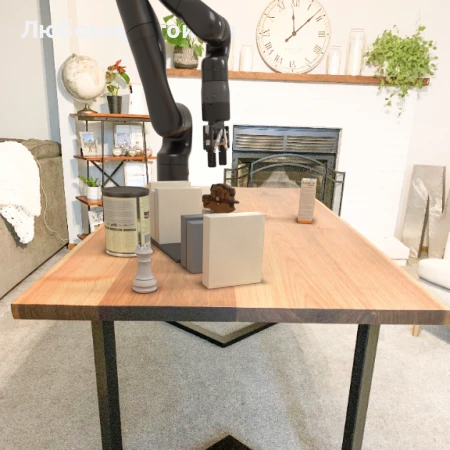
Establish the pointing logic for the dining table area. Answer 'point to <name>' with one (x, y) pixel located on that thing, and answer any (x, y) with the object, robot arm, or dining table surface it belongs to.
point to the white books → (171, 213)
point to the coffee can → (126, 219)
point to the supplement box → (307, 200)
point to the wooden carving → (220, 198)
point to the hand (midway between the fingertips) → (217, 166)
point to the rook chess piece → (144, 270)
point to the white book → (232, 248)
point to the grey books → (192, 242)
